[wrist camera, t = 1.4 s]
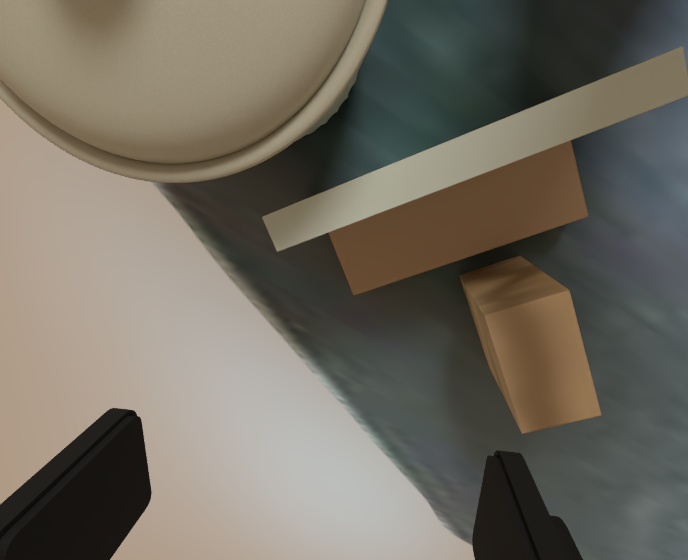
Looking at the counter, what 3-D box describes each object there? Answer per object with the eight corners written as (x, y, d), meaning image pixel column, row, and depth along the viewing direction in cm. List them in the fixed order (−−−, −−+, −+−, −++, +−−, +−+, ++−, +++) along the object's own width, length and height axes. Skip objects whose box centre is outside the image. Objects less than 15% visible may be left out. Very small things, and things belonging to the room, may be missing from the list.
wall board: (560, 95, 27) (682, 46, 16) (586, 207, 29) (712, 235, 18) (308, 198, 31) (261, 216, 20) (345, 289, 33) (322, 355, 22)
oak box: (519, 255, 31) (569, 290, 22) (548, 356, 33) (603, 422, 25) (458, 275, 32) (484, 315, 23) (490, 371, 34) (524, 441, 26)
